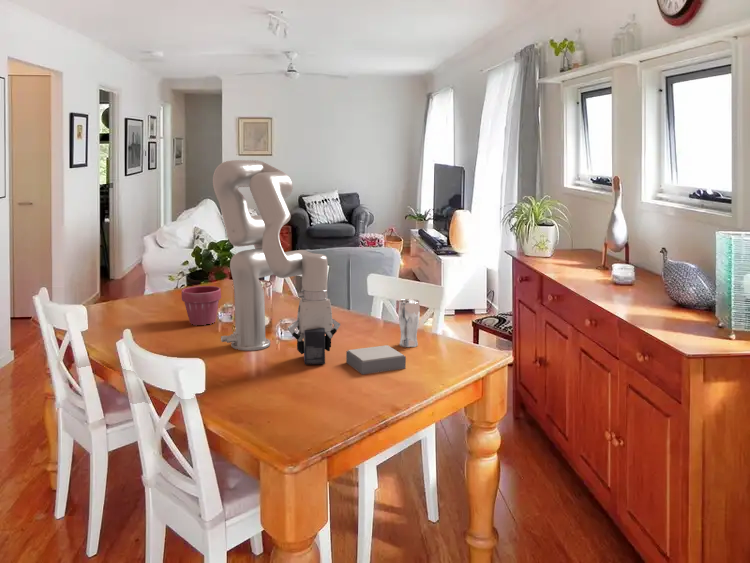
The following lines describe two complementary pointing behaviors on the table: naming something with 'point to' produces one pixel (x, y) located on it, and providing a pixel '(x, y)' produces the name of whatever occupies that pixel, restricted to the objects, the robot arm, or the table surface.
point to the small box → (314, 346)
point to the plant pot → (201, 303)
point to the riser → (375, 359)
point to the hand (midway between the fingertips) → (314, 351)
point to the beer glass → (409, 322)
